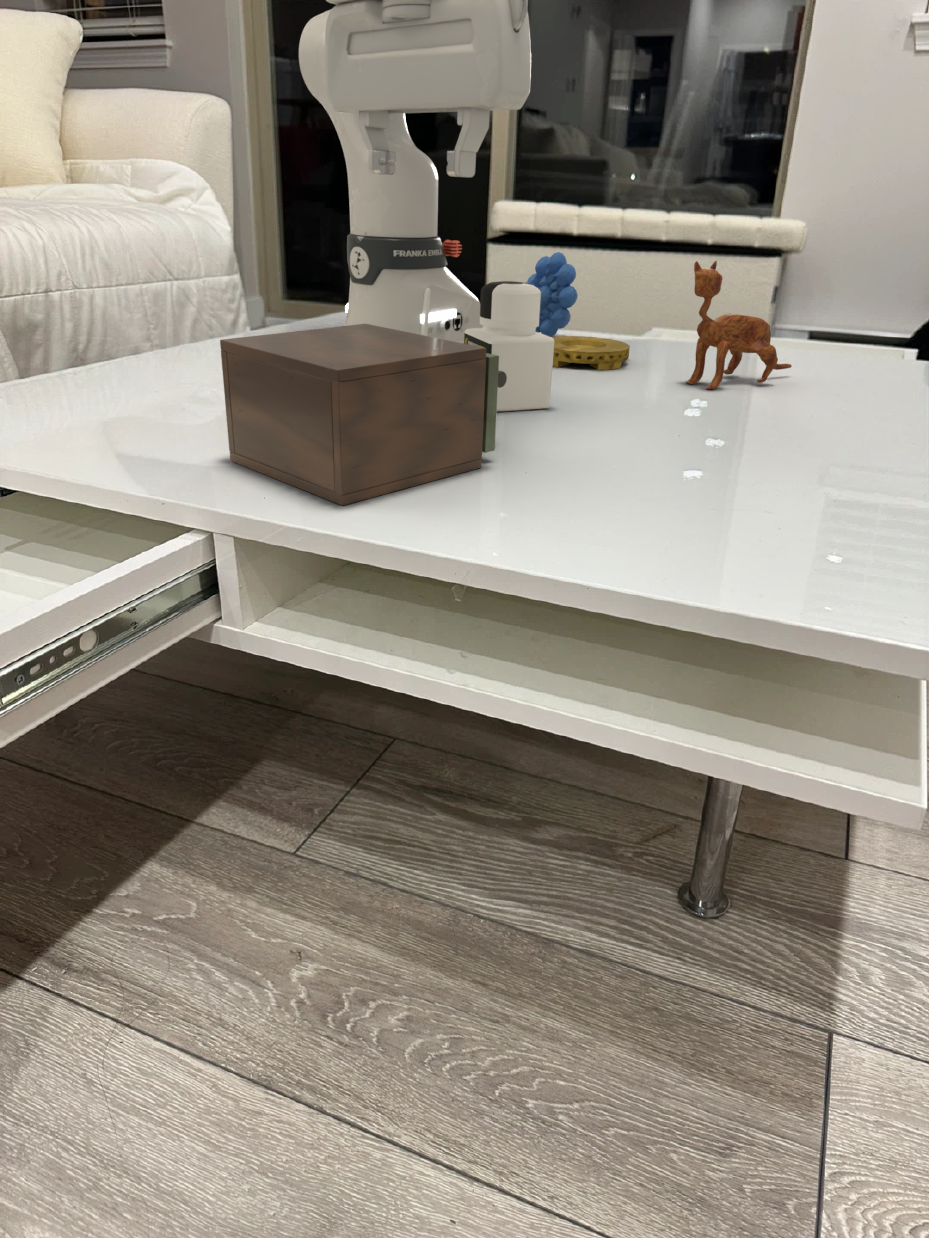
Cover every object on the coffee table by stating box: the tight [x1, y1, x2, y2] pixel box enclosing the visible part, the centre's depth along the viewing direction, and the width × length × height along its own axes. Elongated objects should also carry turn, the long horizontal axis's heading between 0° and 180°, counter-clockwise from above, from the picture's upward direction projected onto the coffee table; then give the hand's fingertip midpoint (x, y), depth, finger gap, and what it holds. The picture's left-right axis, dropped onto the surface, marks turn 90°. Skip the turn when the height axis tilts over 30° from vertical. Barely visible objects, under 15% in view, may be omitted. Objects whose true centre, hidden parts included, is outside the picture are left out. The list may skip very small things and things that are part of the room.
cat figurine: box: [685, 260, 792, 390], centre depth 106 cm, size 18×7×14 cm, turn 121°
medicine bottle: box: [464, 280, 554, 413], centre depth 93 cm, size 7×7×12 cm
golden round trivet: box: [552, 335, 631, 371], centre depth 118 cm, size 12×12×2 cm
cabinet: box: [219, 324, 486, 506], centre depth 72 cm, size 15×15×10 cm
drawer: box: [482, 353, 507, 454], centre depth 75 cm, size 18×13×8 cm
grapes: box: [525, 251, 579, 337], centre depth 132 cm, size 12×7×12 cm, turn 30°
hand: (419, 176), depth 74 cm, fingers open, 8 cm apart
